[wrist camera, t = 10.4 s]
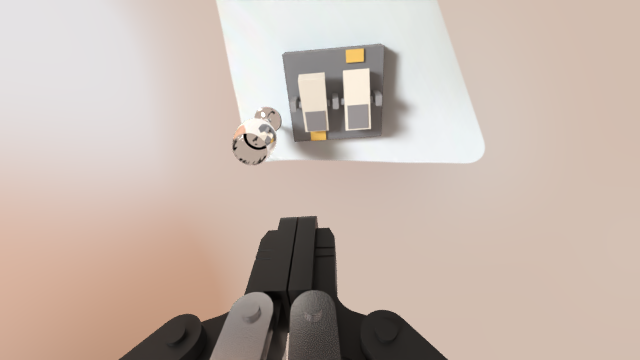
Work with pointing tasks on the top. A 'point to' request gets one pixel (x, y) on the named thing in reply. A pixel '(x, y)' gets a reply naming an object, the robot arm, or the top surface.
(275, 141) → the wineglass
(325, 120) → the block
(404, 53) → the top surface
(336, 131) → the switch unit
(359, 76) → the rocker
